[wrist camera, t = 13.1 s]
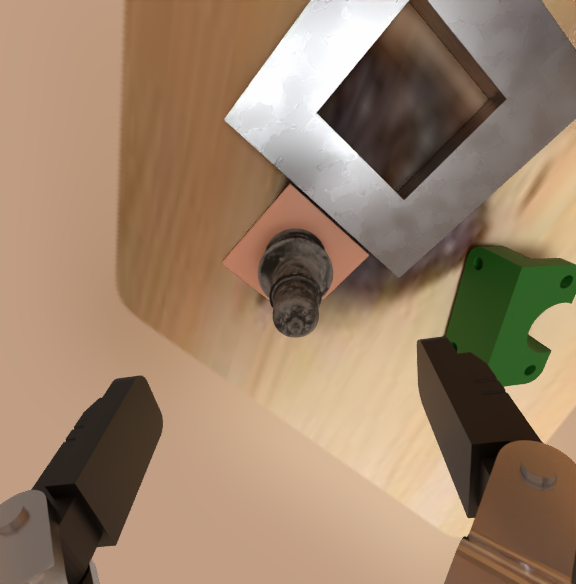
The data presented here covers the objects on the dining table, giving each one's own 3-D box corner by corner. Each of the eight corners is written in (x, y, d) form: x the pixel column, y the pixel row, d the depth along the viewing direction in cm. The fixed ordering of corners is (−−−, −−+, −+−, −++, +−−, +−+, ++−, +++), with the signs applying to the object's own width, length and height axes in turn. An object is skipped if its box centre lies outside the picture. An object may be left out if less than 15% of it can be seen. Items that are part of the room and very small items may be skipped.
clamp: (476, 312, 40) (525, 391, 35) (426, 316, 39) (469, 398, 33) (549, 224, 32) (632, 310, 26) (488, 224, 30) (561, 316, 24)
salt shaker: (331, 285, 34) (349, 369, 23) (266, 292, 34) (253, 378, 23) (326, 220, 31) (343, 281, 20) (256, 229, 32) (236, 292, 21)
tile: (290, 182, 31) (290, 183, 30) (368, 252, 33) (369, 255, 32) (222, 261, 34) (221, 263, 33) (298, 319, 36) (298, 323, 36)
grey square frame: (415, -135, 22) (428, -161, 20) (579, 93, 27) (605, 91, 25) (229, 118, 29) (223, 119, 26) (391, 266, 34) (398, 278, 31)
